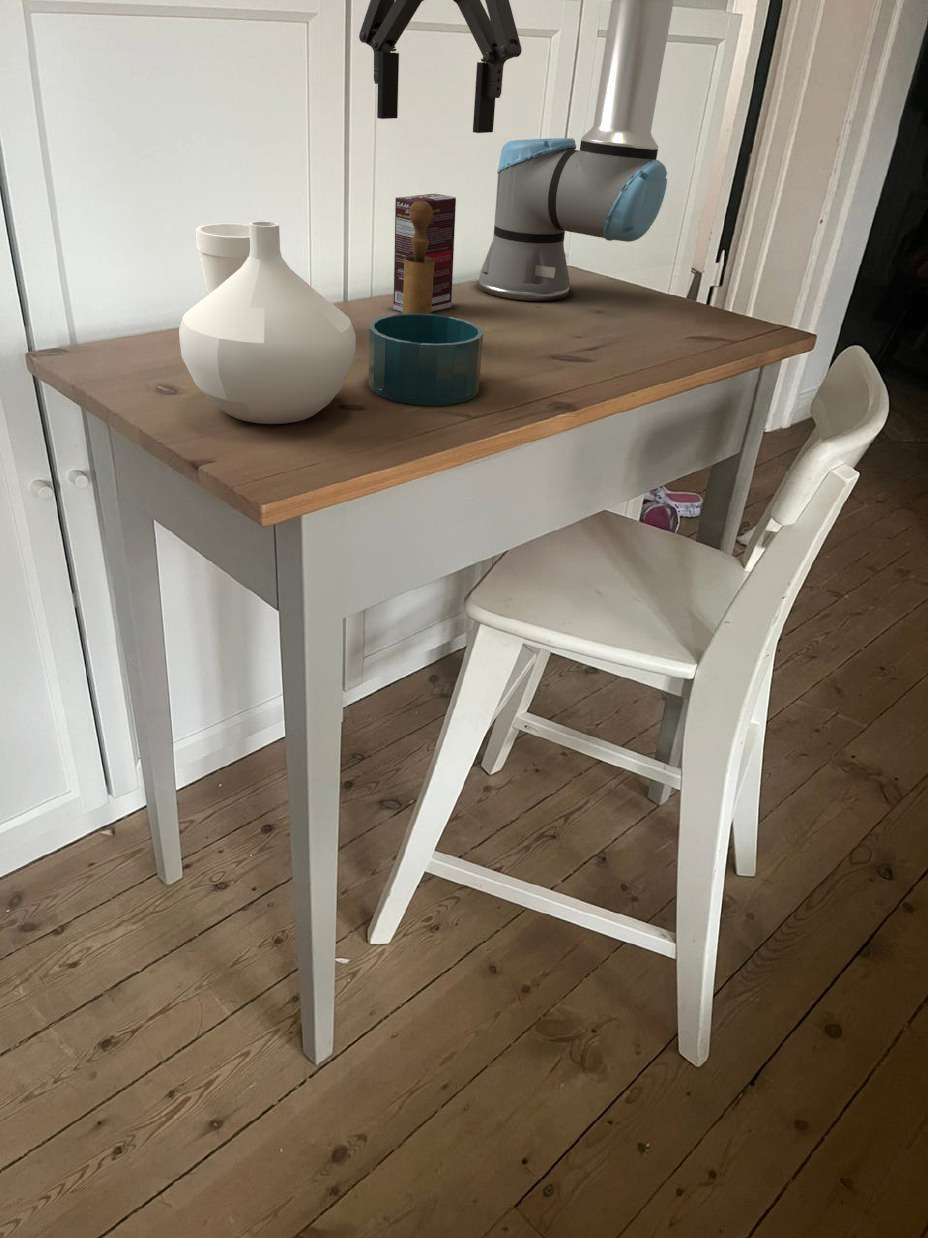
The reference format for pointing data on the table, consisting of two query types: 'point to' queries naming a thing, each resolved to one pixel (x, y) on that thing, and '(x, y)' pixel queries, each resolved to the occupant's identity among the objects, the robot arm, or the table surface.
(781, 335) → the table surface
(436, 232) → the supplement box
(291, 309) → the vase
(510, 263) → the robot arm
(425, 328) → the crock
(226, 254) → the foam cup
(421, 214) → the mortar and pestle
